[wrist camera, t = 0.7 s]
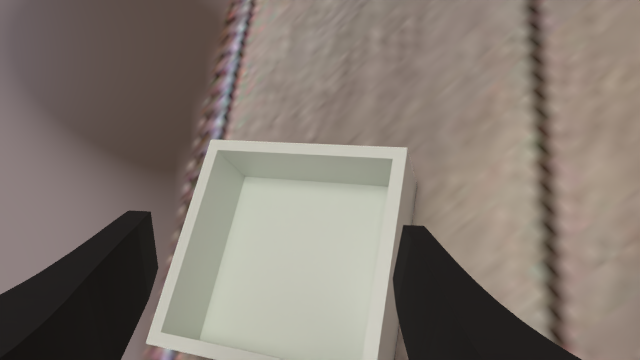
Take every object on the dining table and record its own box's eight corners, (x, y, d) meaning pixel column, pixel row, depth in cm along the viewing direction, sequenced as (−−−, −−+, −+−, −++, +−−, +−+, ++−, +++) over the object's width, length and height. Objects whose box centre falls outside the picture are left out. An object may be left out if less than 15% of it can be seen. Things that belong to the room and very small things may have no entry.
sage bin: (389, 395, 25) (371, 395, 20) (194, 351, 29) (145, 343, 25) (417, 184, 29) (407, 147, 25) (245, 172, 33) (211, 139, 29)
